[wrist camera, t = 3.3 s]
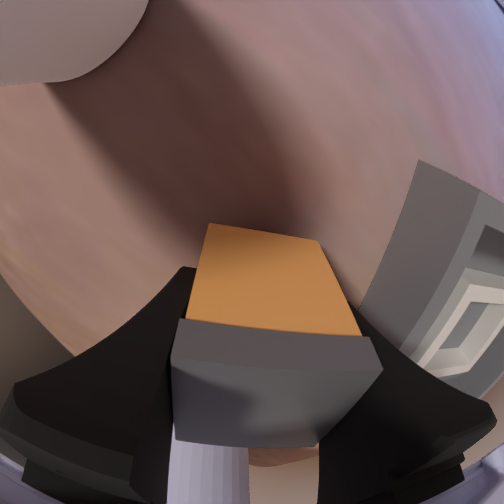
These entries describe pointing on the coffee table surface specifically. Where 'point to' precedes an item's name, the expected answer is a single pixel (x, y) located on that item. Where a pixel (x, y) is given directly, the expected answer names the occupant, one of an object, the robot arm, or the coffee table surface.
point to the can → (61, 37)
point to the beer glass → (501, 3)
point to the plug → (266, 345)
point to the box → (444, 282)
